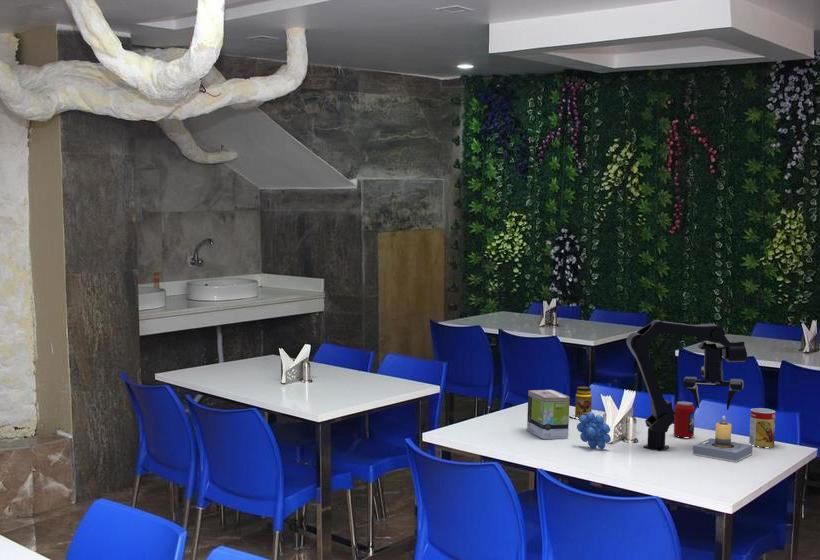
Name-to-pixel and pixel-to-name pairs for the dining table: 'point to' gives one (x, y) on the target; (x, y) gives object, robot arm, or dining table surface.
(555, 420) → the tea box
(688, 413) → the beverage can
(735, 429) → the dining table surface
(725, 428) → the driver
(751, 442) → the canned food
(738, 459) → the grey square holder
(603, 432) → the grapes
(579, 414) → the condiment
